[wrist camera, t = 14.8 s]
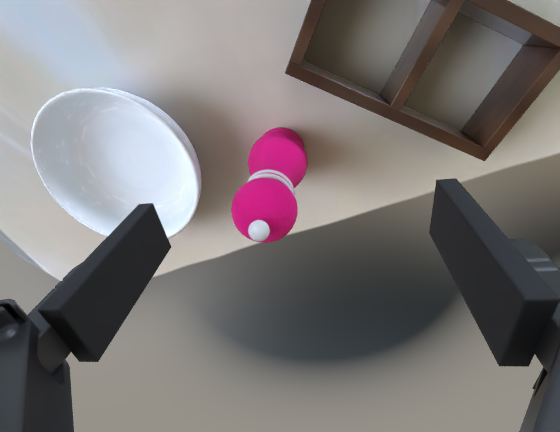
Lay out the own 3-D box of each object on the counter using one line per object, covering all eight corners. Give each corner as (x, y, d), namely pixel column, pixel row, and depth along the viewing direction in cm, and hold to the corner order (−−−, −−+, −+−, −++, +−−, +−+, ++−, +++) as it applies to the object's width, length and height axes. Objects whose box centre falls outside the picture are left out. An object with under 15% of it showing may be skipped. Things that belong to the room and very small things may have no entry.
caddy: (462, 143, 39) (484, 161, 34) (289, 66, 36) (284, 73, 31) (542, 37, 32) (584, 39, 27) (337, -66, 30) (342, -86, 24)
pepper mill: (304, 177, 43) (297, 275, 26) (254, 172, 44) (214, 265, 27) (311, 126, 39) (307, 202, 22) (255, 120, 40) (210, 192, 23)
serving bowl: (142, 237, 52) (120, 264, 46) (39, 129, 43) (-4, 146, 38) (242, 184, 45) (231, 208, 39) (141, 43, 36) (108, 46, 30)
